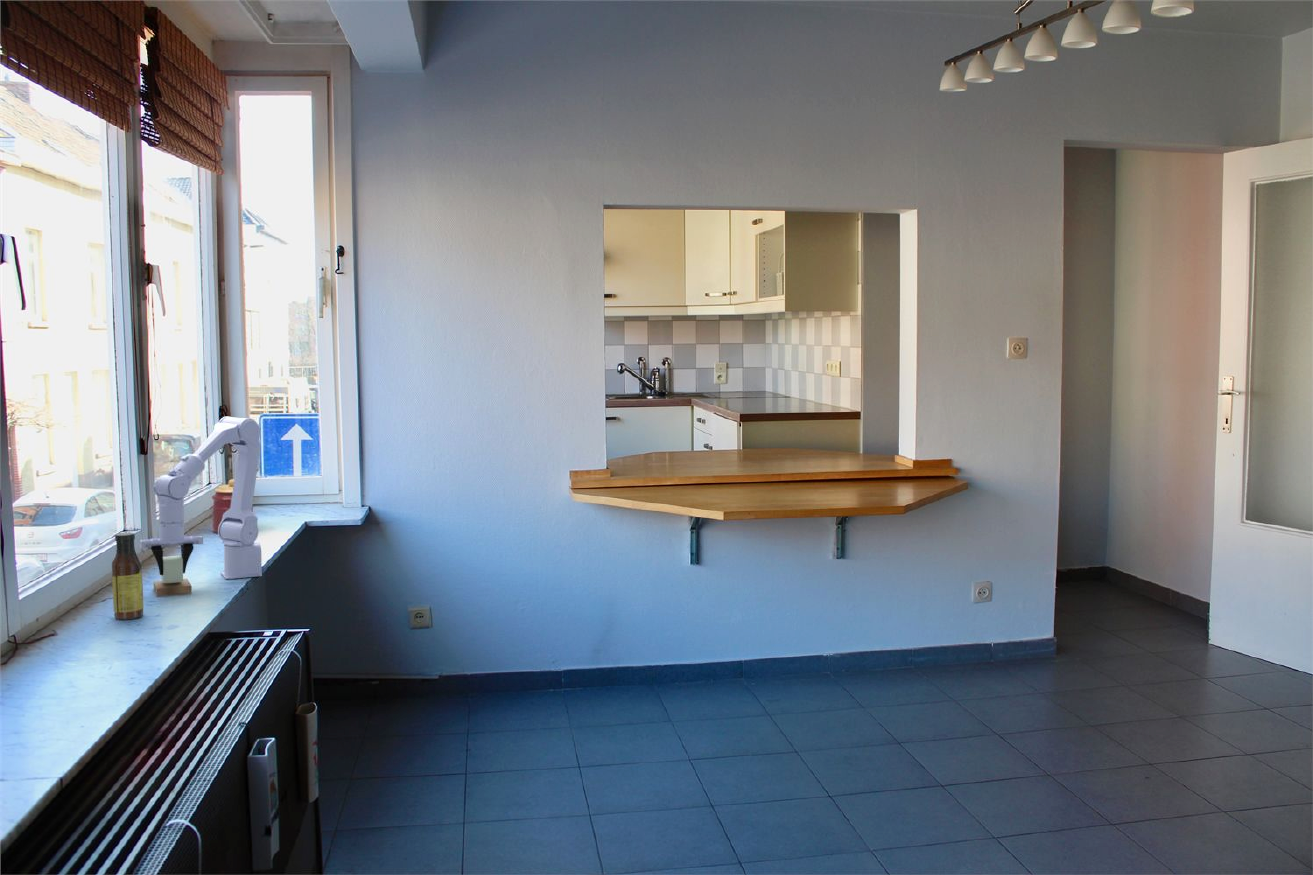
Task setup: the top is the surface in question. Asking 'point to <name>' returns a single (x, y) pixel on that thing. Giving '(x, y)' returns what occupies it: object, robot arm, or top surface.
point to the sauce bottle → (127, 579)
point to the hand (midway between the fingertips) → (172, 573)
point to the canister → (222, 503)
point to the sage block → (172, 569)
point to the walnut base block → (172, 588)
